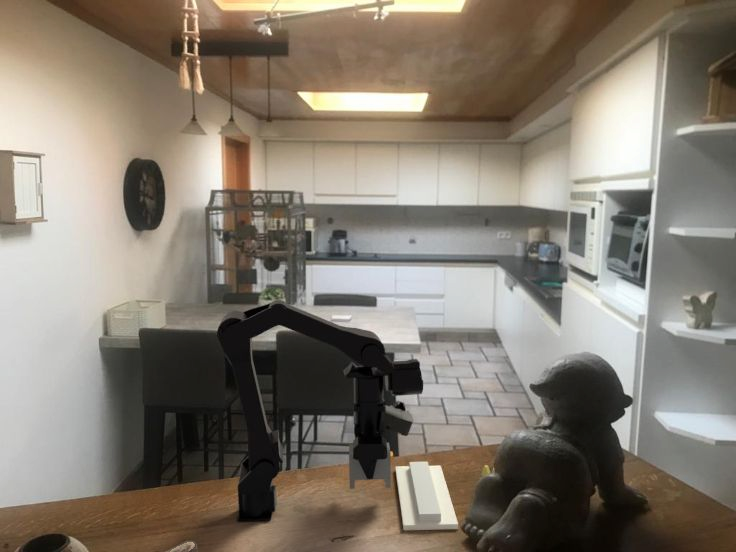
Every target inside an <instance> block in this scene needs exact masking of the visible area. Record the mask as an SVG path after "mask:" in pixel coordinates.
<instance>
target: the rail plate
mask: <svg viewBox="0 0 736 552" xmlns="http://www.w3.org/2000/svg"><path fill="white" fill-rule="evenodd" d="M395 477H396V483H397V491H398V492H397V493H398V497H399V499H398V500H399V505H400V506H399V508H400V513H401V514H400V515H401V520H402V528H403V531H428V530H431V531H432V530H435V531H436V530H459V522H458V518H457V516H456V515H457V514H456V513H455V509H454V506H453V502H452V499H451V495H450V492H449V488H448V486H447V482H446V478H445V476H444V473H443V468H442V465H429V462H428V461H409V465H406V466H404V465H403V466H399V465H398V466H395Z"/></svg>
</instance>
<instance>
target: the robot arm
mask: <svg viewBox="0 0 736 552" xmlns="http://www.w3.org/2000/svg"><path fill="white" fill-rule="evenodd" d="M222 317H223V318H221V321H220V323H219V324H218V328H217V331H216V337H217V340H218V342H219V345H220V347H221V350H222V351H223V354H224V355H225V357H226V359H227V360H228V362H229V364H230V366H231V368H232V373H233V376H234V380H235V381H234V382H235V385H236V389H237V390H236V391H237V393H238V398H239V402H240V403H239V404H240V406H241V410H242V415H243V419H244V423H245V428H246V432H247V440H248V442H247V444H248V446H247V450H248V451H247V453H248V455H247V457H246V458H244V460H243V461H242V462H241V463H240V468H239V474H238V475H239V476H238V482H237V499H238V504H237V505H238V513H237V516H236V521H237V522H257V521H258V522H259V521H261V522H263V521H267V522H268V521H271V520H272V517H273V515H274V514H273V513H275V512H276V509H277V504H278V502H277V486H276V485H275V484H274V479H275V478H276V477H277V476H278V474H279V473H280V470H281V464H282V463H284V449H283V448H284V446H283V445H282V443H281V442H280V441H281V440H280V431H279V429H276V430H273V431H272V429H271V428H270V426H269V424H268V421H267V417H266V411H265V408H264V404H263V403H264V402H263V399H262V394H261V391H260V390H261V389H260V386H259V382H258V381H259V380H258V377H257V372H256V368H255V367H256V366H255V364H254V359H253V338H256V337H258V336H259V335H262V334H263V333H265V332H267V331H269V330H271V329H272V328H275V327H278V326H281V327H283V328H286V329H289V330H291V331H293V332H296V333H299V334H300V335H304V336H306V337H308V338H311V339H313V340H316V341H319V342H321V343H323V344H326V345H329V346H331V347H334V348H335V349H337V350H339V351H340V352H341V353H342V354H344V355H345V356H347V358H350V359H351V360H352V361H351V362H349V365H348V366H346V367H345V368H344V369H343V374H344V377H345V379H353V425H354V427H353V432H354V437H355V439H353V441H352V443H353V459H355V460H358V461H359V463H360V465H361V467H362V469H363V471H364V473H365V475H366V478H367V479H373V476H374V472H375V467H376V463H377V460H379V459H386V458H387V443H388V442H387V439H385V438H384V437H383V436H382V435H383V434H384V433H385V434H386V433H387V430H389V431H392V432H395V433H398V434H400V435H401V436H404V437H407V436H409V434H410V432H411V431H410V430H411V429H412V425H413V422H414V418H413V414H412V413H410V411H409V410H407V411H406V405H405V402H404V401H400V400H397V401H396V402H395V403H393V404H390V405H386V402H385V399H384V385H385V390H386V392H390V393H391V396H392V397H400V396H412V395H413V396H414V395H415V396H416V395H422V394H423V391H424V380H423V375H422V370H421V367H420V366H421V362H420V361H419V360H418V359H417V358H411V359H408V360H395V361H392V360H391V358H390V356H389V355H388V354H386V348H385V346H384V343H383V342H382V341H381V339H380V337H379V336H378V335H377V334H376V333H375V332H373V331H371V330H367V329H362V328H358V327H352V326H351V327H349V326H348V327H347V326H342V325H340V324H337V323H334V322H333V321H331V320H327V319H325V318H323V317H320V316H318V315H315V314H313V313H310V312H307V310H306V311H305V310H302V309H301V308H298V307H296V306H293V305H290V304H288V302H285V301H284V300H281V299H275V300H273V301H271V302H269V303H266V304H263V305H259V306H256V307H253V308H250V309H247V310H245V311H239V310H232V311H230V312H227V313H226V314H225V315H224V316H222ZM353 361H354V362H355V363H357V364H359V365H356V364H355V363H354V362H353Z"/></svg>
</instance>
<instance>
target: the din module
mask: <svg viewBox="0 0 736 552" xmlns="http://www.w3.org/2000/svg"><path fill="white" fill-rule="evenodd" d="M348 445H349V447H348V449H349V450H348V474H349V490H351V489H353V490H354V489H356V487H355V486H356V481H361V480H362V481H363V480H364V481H367V480H368V481H370V480H371V481H372V480H373V481H374V480H375V481H376V480H378V481H379V480H384V483H385V484H384V485H385V489H390V488H392V486H391V484H392V481H391V478H392V477H391V475H392V474H391V465H393V464H394V453H393V451H391V448H390V442H387V458H386V459H379V460H377V463H376V467H375V472H374V476H373V479H367V478H366V475H365V473H364V471H363V469H362V467H361V465H360V463H359V461H358V460H355V459H353V442H350V443H348Z"/></svg>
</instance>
